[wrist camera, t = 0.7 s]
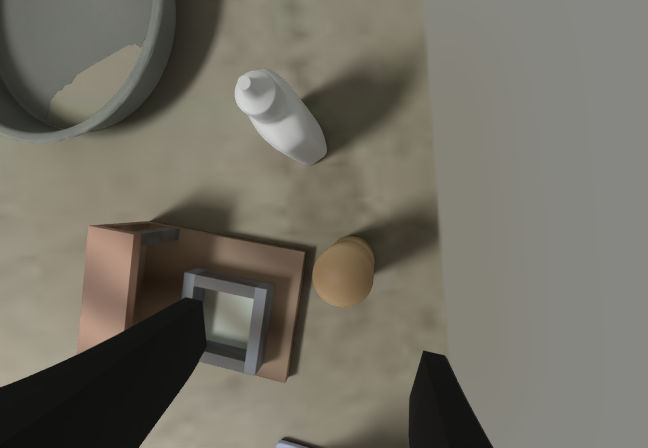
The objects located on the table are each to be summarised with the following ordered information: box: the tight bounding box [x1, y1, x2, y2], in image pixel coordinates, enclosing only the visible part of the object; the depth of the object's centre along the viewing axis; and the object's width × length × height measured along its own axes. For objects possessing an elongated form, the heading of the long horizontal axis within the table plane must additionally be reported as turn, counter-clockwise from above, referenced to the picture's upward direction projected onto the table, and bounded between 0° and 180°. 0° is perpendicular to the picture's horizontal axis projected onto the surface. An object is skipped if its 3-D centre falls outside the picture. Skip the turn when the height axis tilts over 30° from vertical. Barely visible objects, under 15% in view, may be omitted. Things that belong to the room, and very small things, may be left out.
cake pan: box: [0, 0, 176, 143], centre depth 29 cm, size 25×25×4 cm
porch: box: [77, 221, 307, 383], centre depth 27 cm, size 12×16×6 cm
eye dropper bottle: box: [235, 68, 327, 166], centre depth 22 cm, size 4×6×12 cm
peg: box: [313, 236, 375, 307], centre depth 24 cm, size 4×4×7 cm
